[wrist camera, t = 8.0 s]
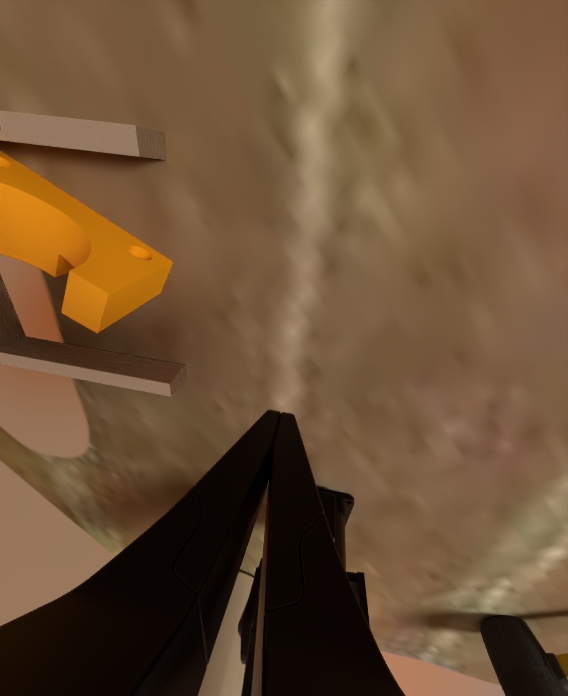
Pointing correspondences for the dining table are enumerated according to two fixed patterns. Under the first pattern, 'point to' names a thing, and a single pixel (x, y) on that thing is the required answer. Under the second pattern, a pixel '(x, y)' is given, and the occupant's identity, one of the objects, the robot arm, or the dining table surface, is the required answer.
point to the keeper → (3, 324)
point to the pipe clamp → (76, 248)
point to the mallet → (523, 659)
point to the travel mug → (228, 646)
